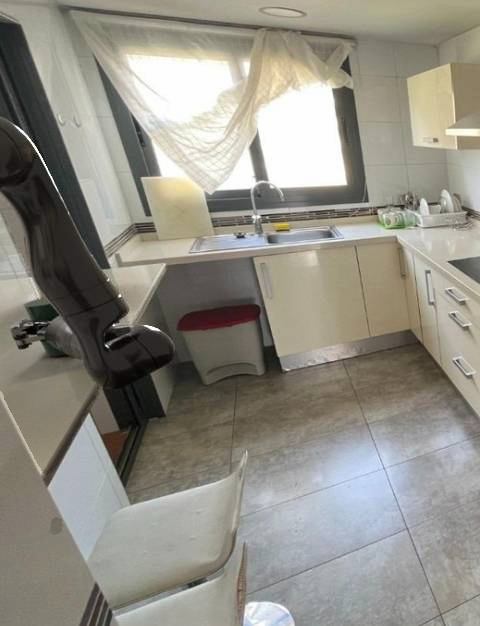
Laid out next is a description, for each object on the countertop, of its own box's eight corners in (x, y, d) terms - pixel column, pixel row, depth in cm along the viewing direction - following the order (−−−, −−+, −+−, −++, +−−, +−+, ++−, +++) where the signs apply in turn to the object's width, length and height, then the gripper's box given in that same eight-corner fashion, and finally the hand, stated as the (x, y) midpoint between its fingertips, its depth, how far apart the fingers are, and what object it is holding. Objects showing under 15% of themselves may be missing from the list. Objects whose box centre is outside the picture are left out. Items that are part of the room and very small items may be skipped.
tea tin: (45, 359, 84) (21, 308, 80) (48, 349, 88) (26, 300, 84) (86, 350, 87) (65, 301, 83) (87, 341, 91) (67, 294, 87)
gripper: (130, 302, 83) (90, 288, 91) (17, 331, 72) (-18, 312, 79) (144, 340, 86) (104, 323, 94) (38, 373, 74) (2, 351, 82)
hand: (48, 318), depth 86 cm, fingers closed on tea tin, 5 cm apart
